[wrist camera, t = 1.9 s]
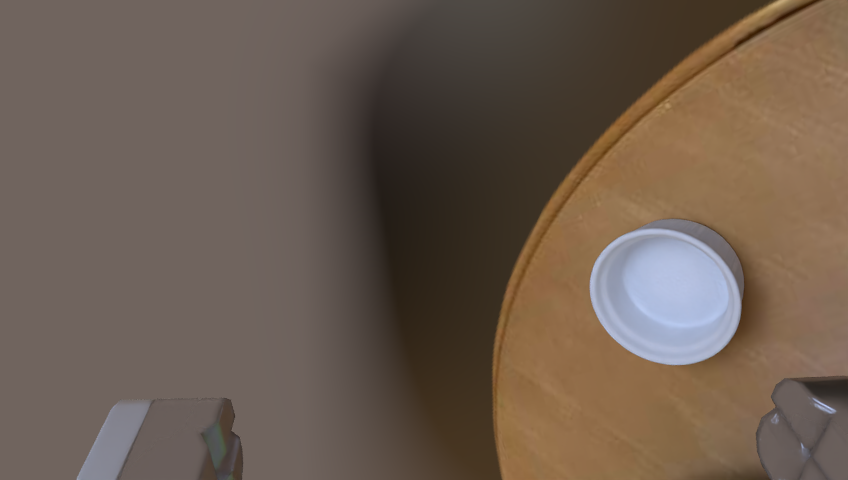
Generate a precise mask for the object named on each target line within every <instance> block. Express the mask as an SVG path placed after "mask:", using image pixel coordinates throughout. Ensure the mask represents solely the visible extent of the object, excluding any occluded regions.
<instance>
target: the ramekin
mask: <svg viewBox="0 0 848 480" xmlns="http://www.w3.org/2000/svg"><path fill="white" fill-rule="evenodd" d="M743 291H744V275H743V271H742V267H741V264H740V261H739V259H738V257H737V255H736V253H735V251H734V250H733V249H732V248H731V246H730V245H729V244H728V243H727V242H726V241H725V240H724V238H723V237H721V236H720V235H719V234H718V233H716V232H715V231H713V230H711V229H710V228H708V227H706V226H704V225H702V224H699V223H696V222H692V221H688V220H682V219H662V220H658V221H653V222H651V223H649V224H646V225H644V226H642V227H640V228H638V229H636V230H635V231H632V232H629V233H627V234H625V235H622V236H621V237H619V238H617V239H616V240H614V241H613V242H612V243H610V244H609V245H608V246H607V247H606V248H605V249H604V250H603V252H602V253H601V254H600V256H599V257H598V259H597V260H596V262H595V264H594V267H593V270H592V273H591V278H590V296H591V301H592V304H593V308H594V310H595V313H596V315H597V317H598V319H599V321H600V322H601V324H602V325H603V327H604V328H605V329H606V331H607V332H608V333H609V334H610V336H612V338H614V339H615V340H616V341H617V342H618V343H619V344H620V345H622V346H623V347H624V348H625V349H627V350H628V351H630V352H632V353H634V354H635V355H638V356H640V357H642V358H644V359H647V360H649V361H653V362H656V363H661V364H668V365H687V364H693V363H697V362H700V361H703V360H706V359H708V358H710V357H712V356H714V355H715V354H717V353H718V352H719V351H721V350H722V349H723V348H724V347H725V346H726V345H727V344H728V343H729V341H730V340H731V339H732V337H733V336H734V334H735V332H736V330H737V327H738V325H739V321H740V317H741V308H742V303H741V302H742V298H743Z"/></svg>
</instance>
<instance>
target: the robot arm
mask: <svg viewBox="0 0 848 480" xmlns="http://www.w3.org/2000/svg"><path fill="white" fill-rule="evenodd" d="M771 398H772V400H773V402H774V404H775V406H776V407H775V408H774V409H773V410H771V411H770V412H769V413H767V414H766V415H765V416H763V417H762V418H761V421H760V424H759V427H758V429H757V432H756V441H757V452H758V455H759V458H760V461H761V464H762V466H763V468H764V469H765V471H766V473H767V474H768V476H769V478H770V479H771V480H848V376H828V377H806V378H784V379H783V380H782V381H781V382H779V383H778V384H777V385H776V386H775V389H774V391H773V393H772V395H771ZM234 418H235V414H234V410H233V406H232V402H231V400H229V399H227V398H202V399H201V398H199V399H198V398H192V399H154V400H120V401H119V402H118V403H117V404H116V405H115V406H114V407H113V408H112V409H111V411H110V413H109V415H108V417H107V419H106V421H105V423H104V425H103V427H102V429H101V431H100V433H99V435H98V437H97V439H96V441H95V443H94V445H93V447H92V449H91V451H90V453H89V455H88V457H87V459H86V461H85V463H84V465H83V467H82V469H81V471H80V473H79V475H78V477H77V479H76V480H242V472H243V454H242V446H241V441H240V437H239V436H238V435H236V434H235V433H234V432H232V431H231V430H232V426H233V422H234Z"/></svg>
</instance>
